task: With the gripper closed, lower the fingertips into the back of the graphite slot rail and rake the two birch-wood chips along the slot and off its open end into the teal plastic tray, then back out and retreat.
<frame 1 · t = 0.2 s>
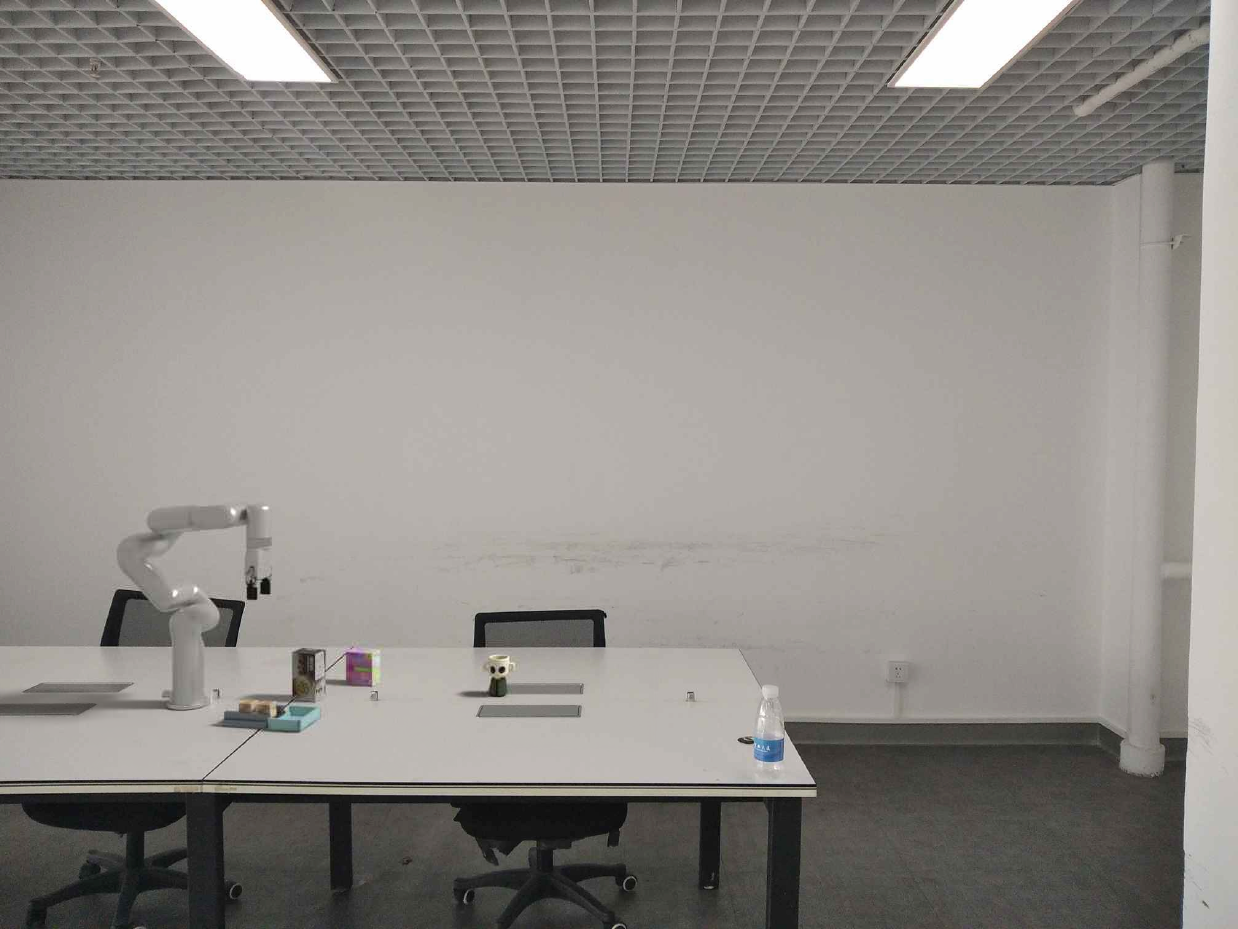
hand: (258, 597, 298), 36 cm above the table, tool pointing down, fingers open, 9 cm apart
character mug: (498, 695, 321), on the table
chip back: (248, 714, 287), point 2 cm above the table, touching slot rail
chip front: (266, 715, 287), point 2 cm above the table, touching slot rail
slot rail: (254, 721, 287), on the table
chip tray: (294, 724, 285), on the table
coffee box: (308, 699, 312), on the table
box: (362, 684, 332), on the table
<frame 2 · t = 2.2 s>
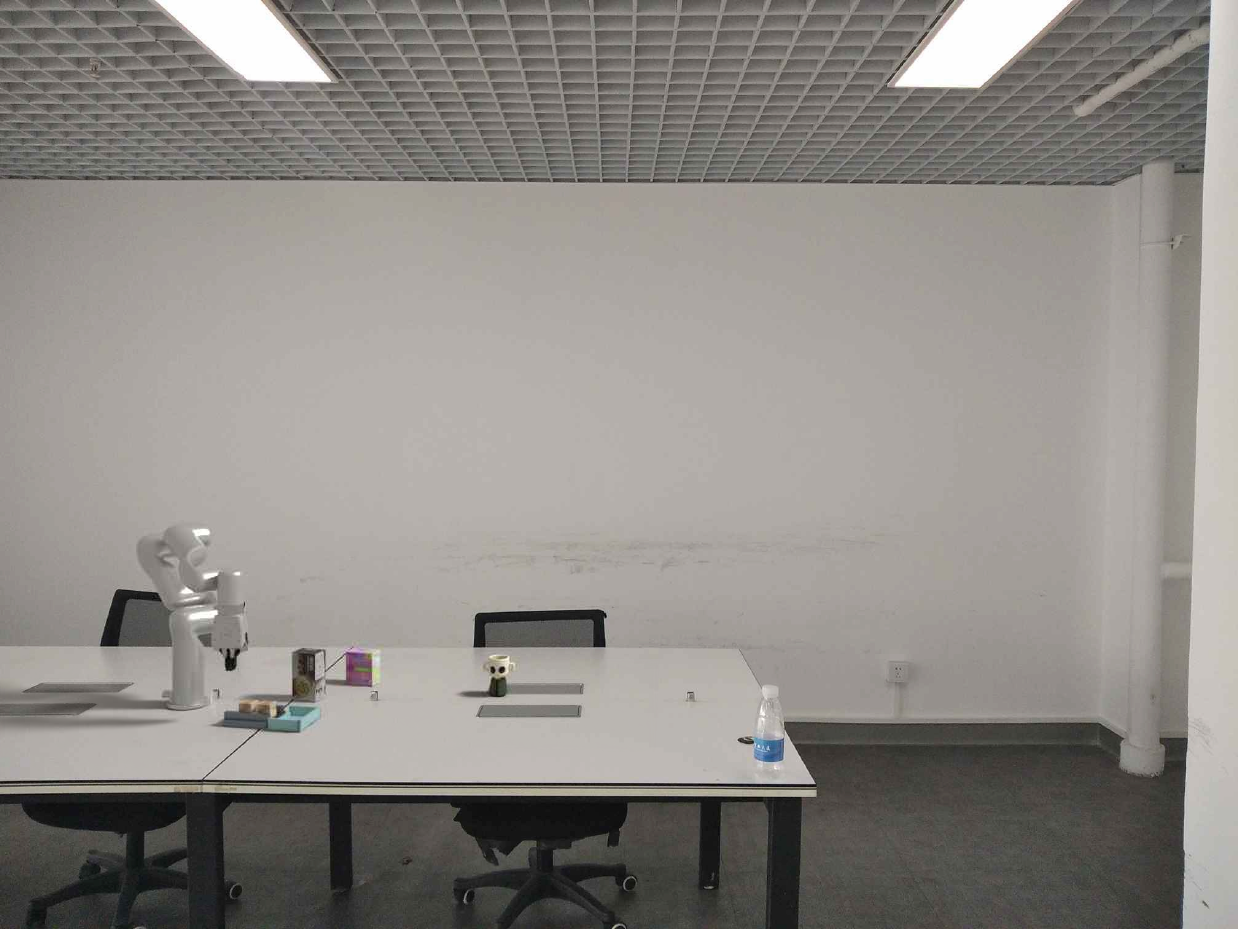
hand: (230, 670, 287), 16 cm above the table, tool pointing down, fingers closed
nothing on the table moved.
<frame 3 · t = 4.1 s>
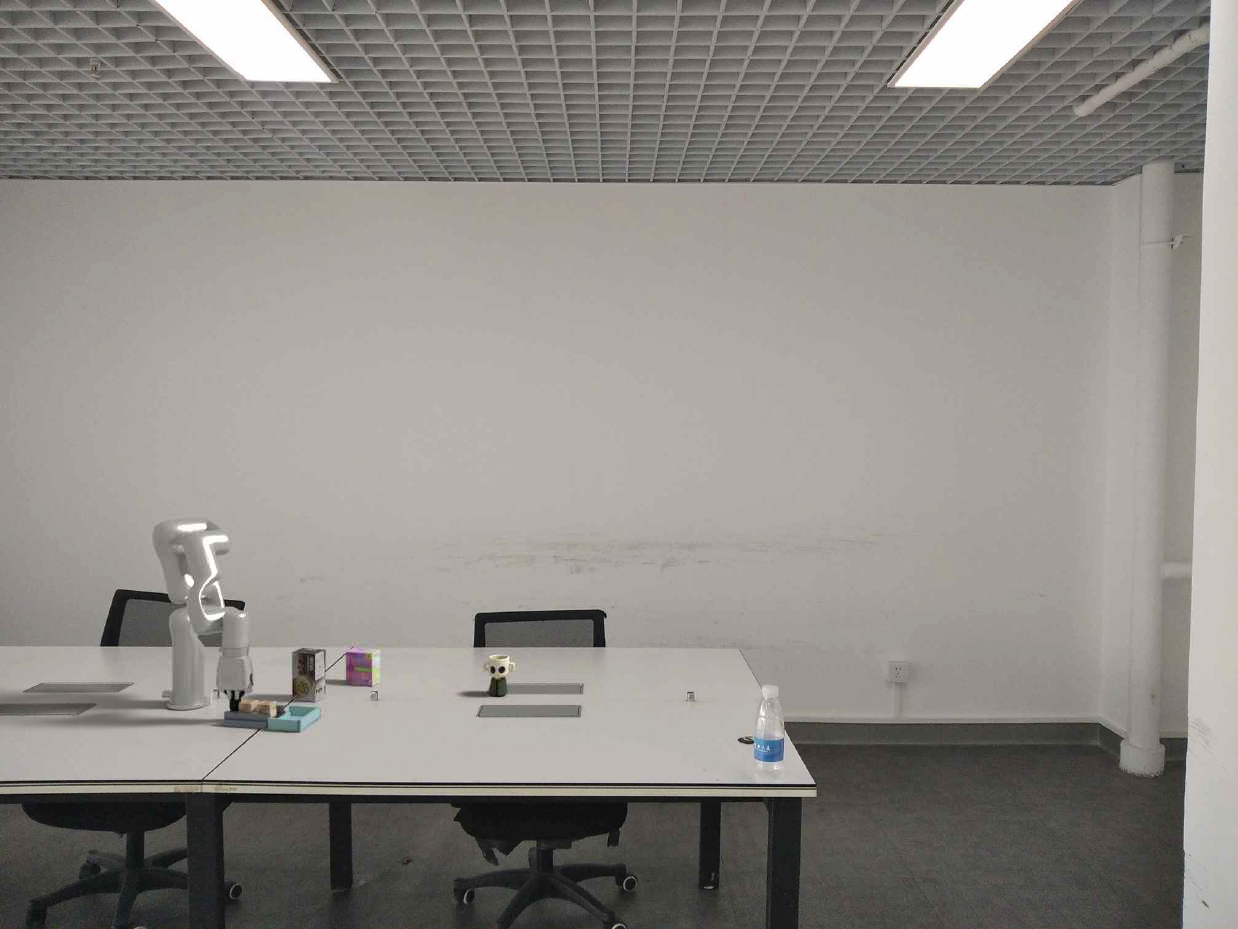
hand: (235, 711, 288), 3 cm above the table, tool pointing down, fingers closed
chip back: (248, 714, 287), point 2 cm above the table, touching gripper, slot rail
everything else where it was.
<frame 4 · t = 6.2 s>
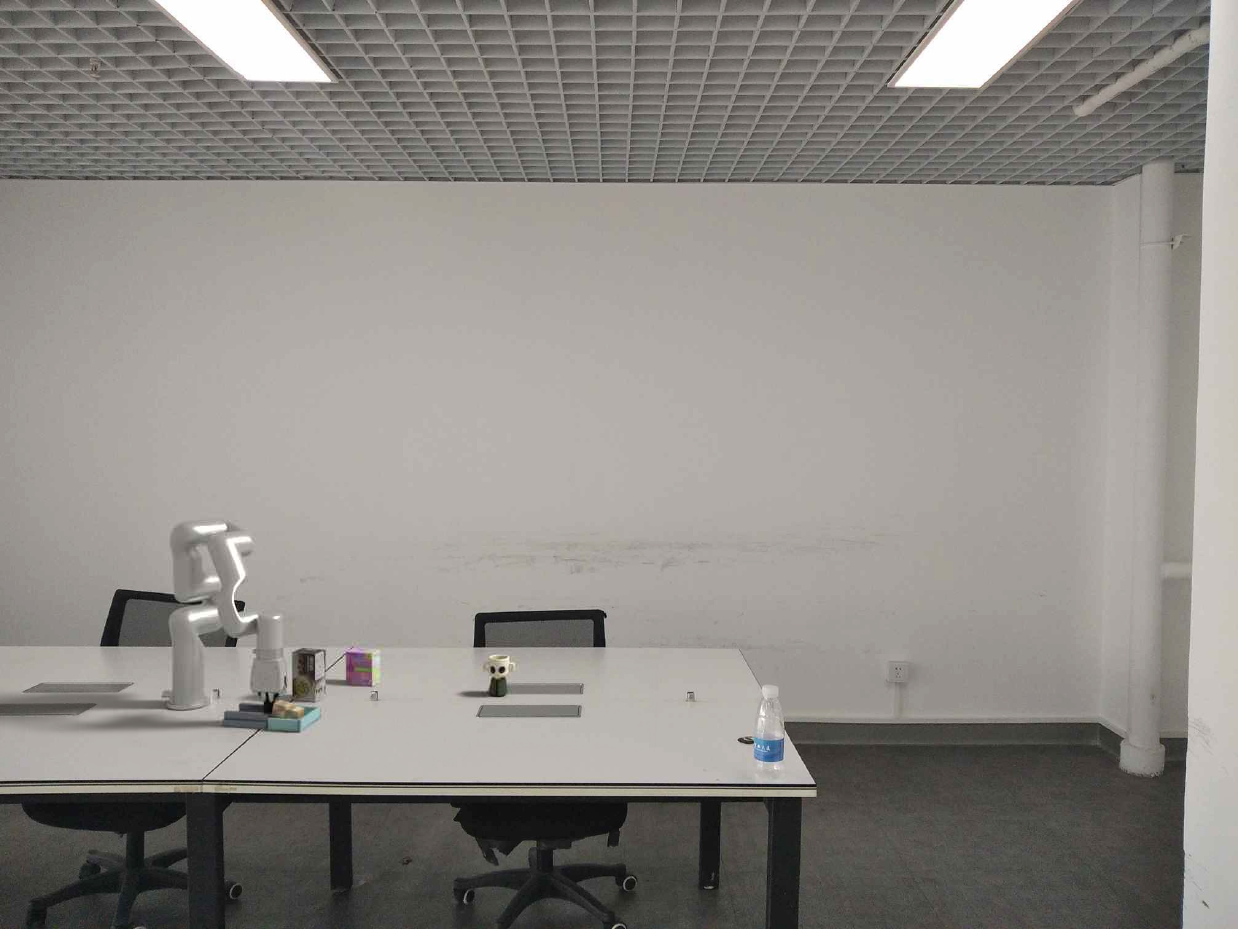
hand: (269, 713, 286), 3 cm above the table, tool pointing down, fingers closed
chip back: (280, 716, 286), point 2 cm above the table, tilted 12°, touching chip front, gripper
chip front: (288, 714, 286), point 3 cm above the table, tilted 95°, touching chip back, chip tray
everything else where it was.
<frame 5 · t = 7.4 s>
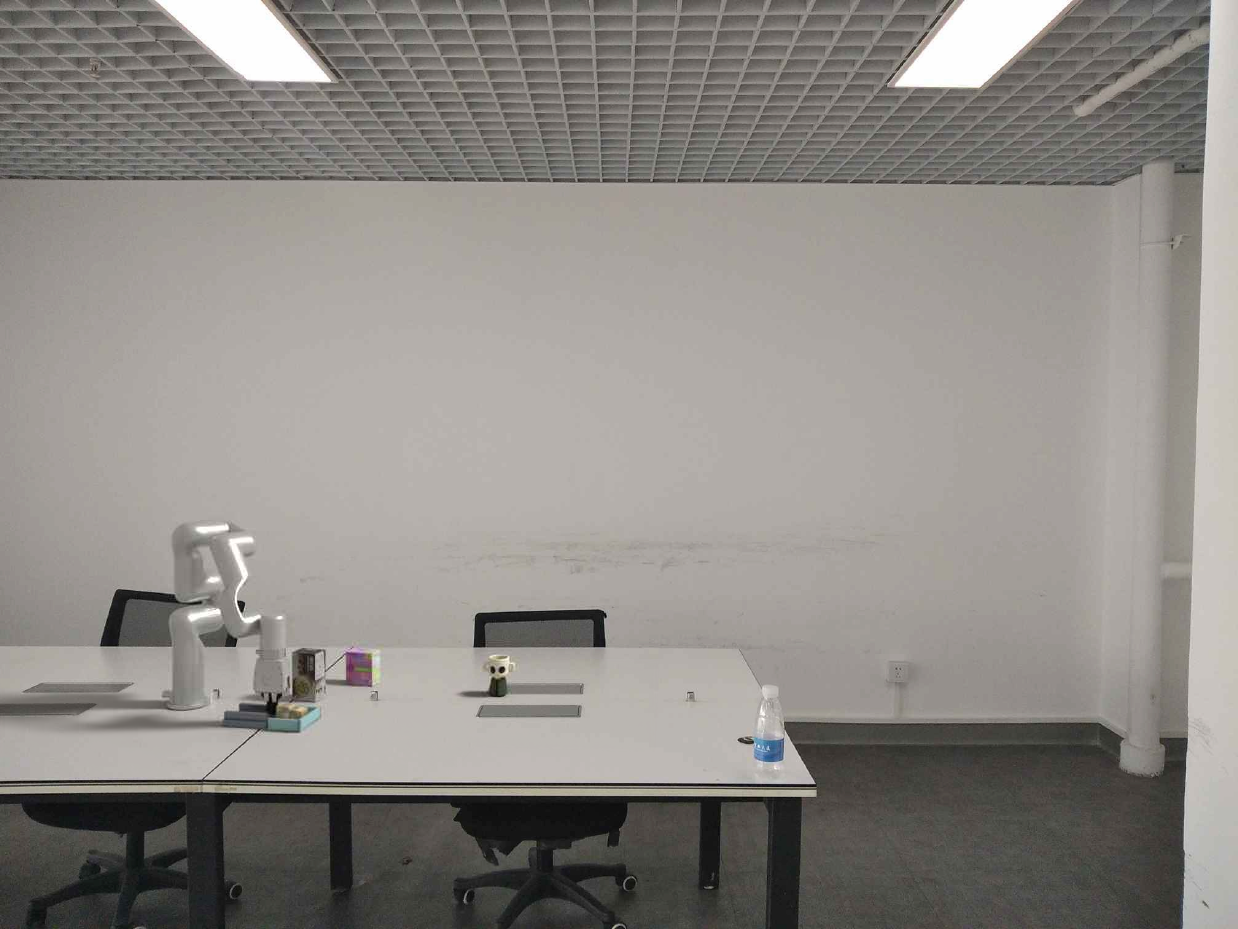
hand: (272, 713, 286), 3 cm above the table, tool pointing down, fingers closed
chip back: (285, 717, 286), point 2 cm above the table, touching chip front, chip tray
chip front: (291, 714, 285), point 3 cm above the table, tilted 94°, touching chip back, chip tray
everything else where it was.
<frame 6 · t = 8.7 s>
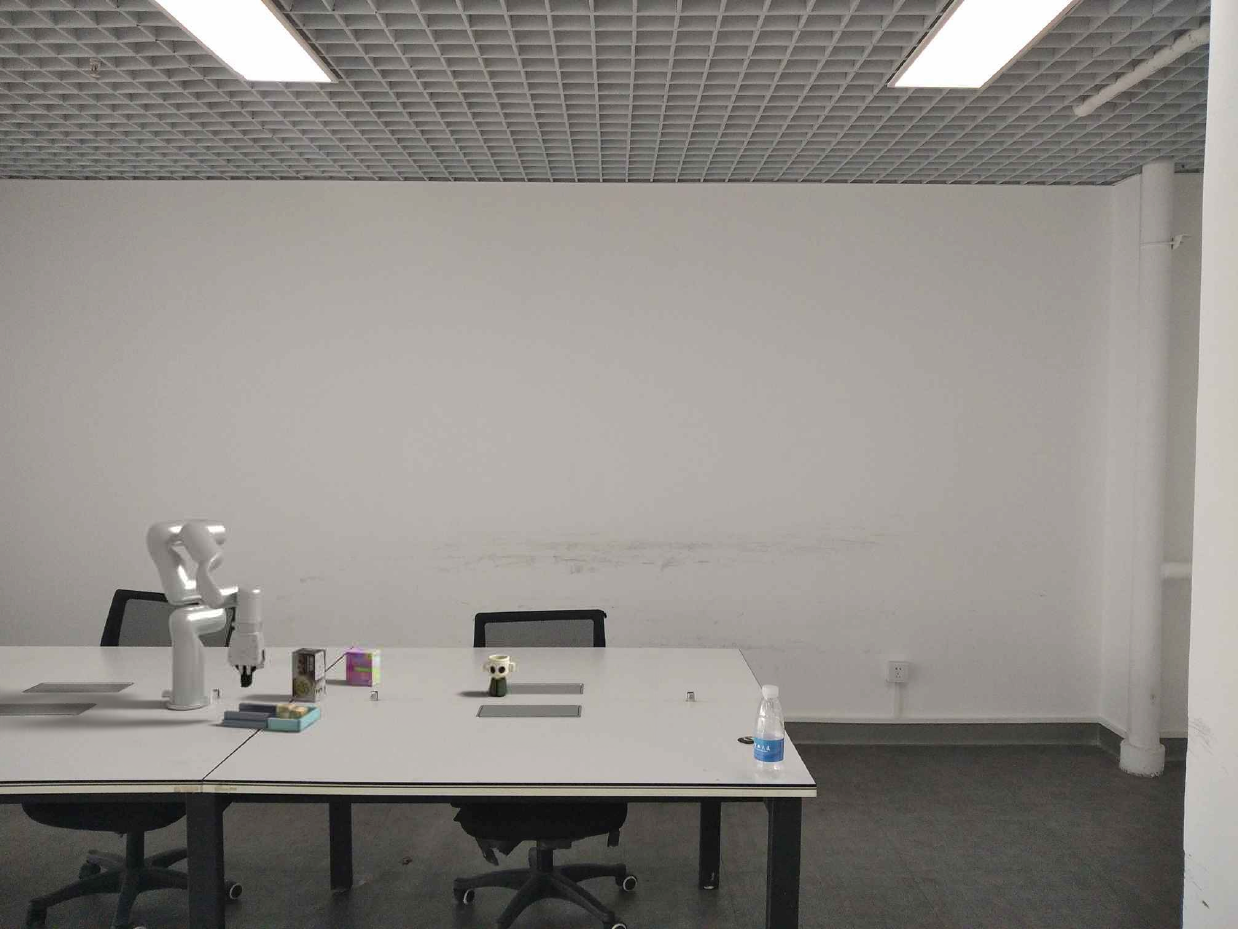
hand: (246, 686, 288), 11 cm above the table, tool pointing down, fingers closed
nothing on the table moved.
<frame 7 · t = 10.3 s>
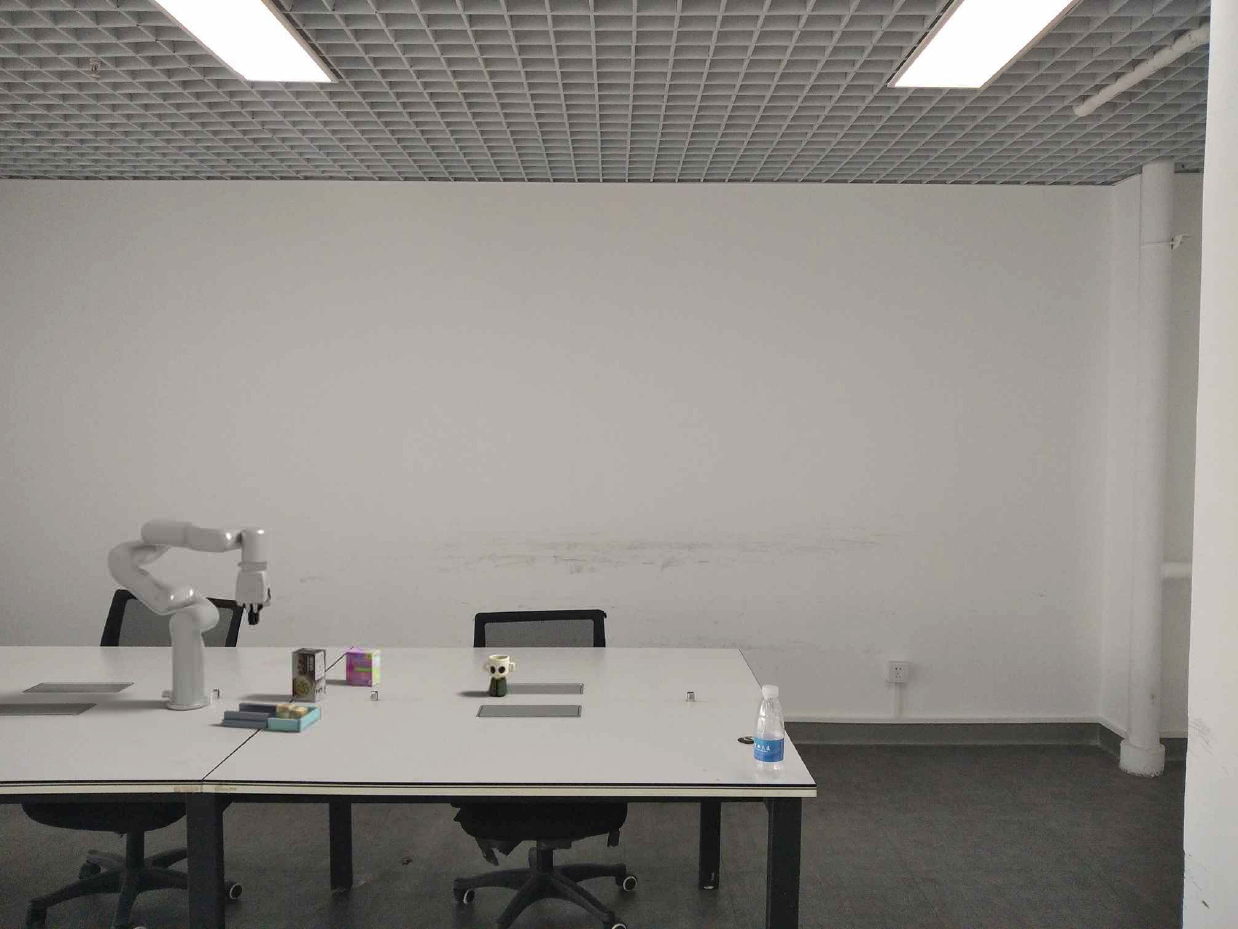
hand: (253, 624, 299), 27 cm above the table, tool pointing down, fingers closed
nothing on the table moved.
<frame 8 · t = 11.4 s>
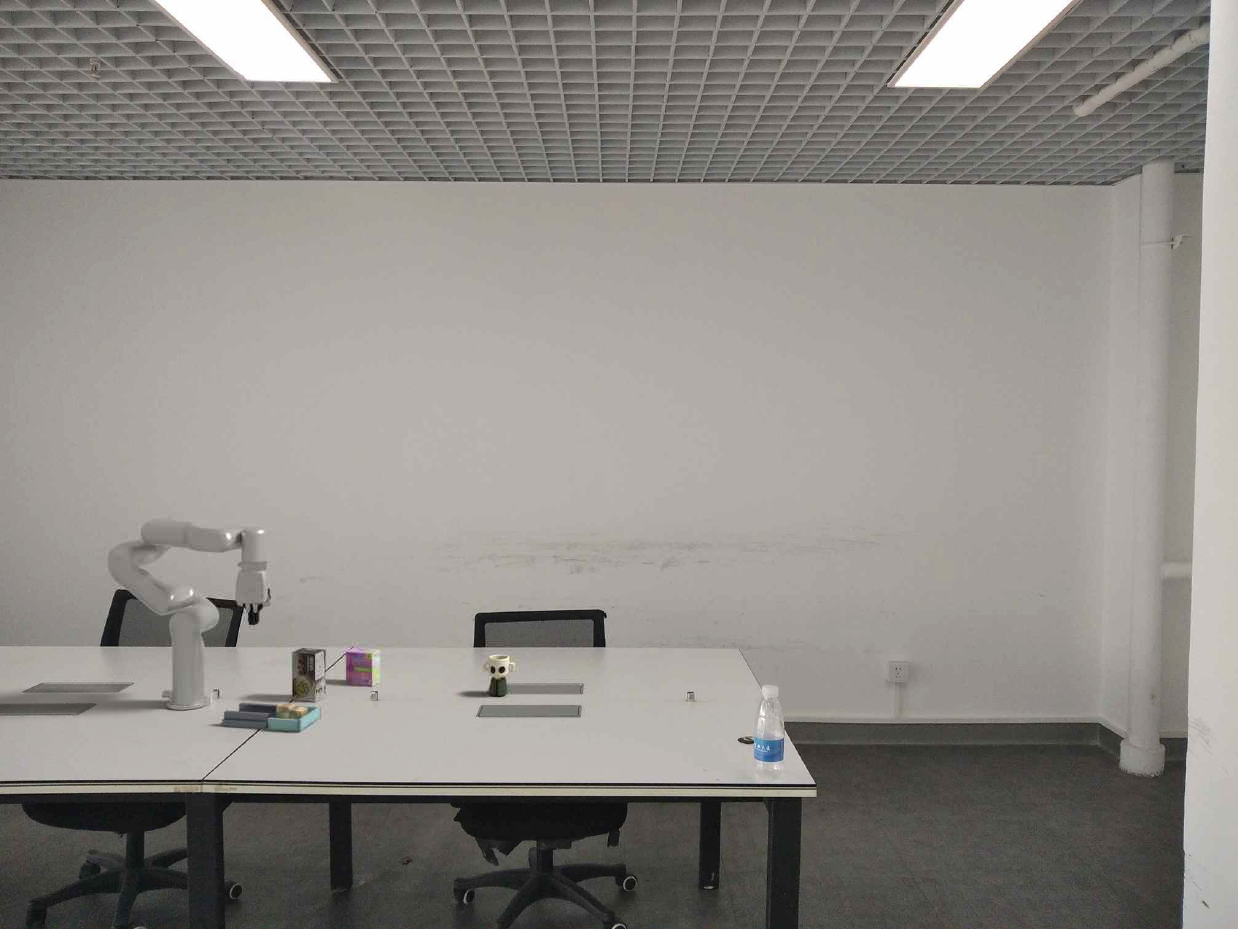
hand: (253, 624, 299), 27 cm above the table, tool pointing down, fingers closed
nothing on the table moved.
at the end: chip front inside the target area on the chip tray (1.1 cm from its centre), point 2.9 cm above the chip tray's base; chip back inside the target area on the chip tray (3.1 cm from its centre), point 1.7 cm above the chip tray's base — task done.
